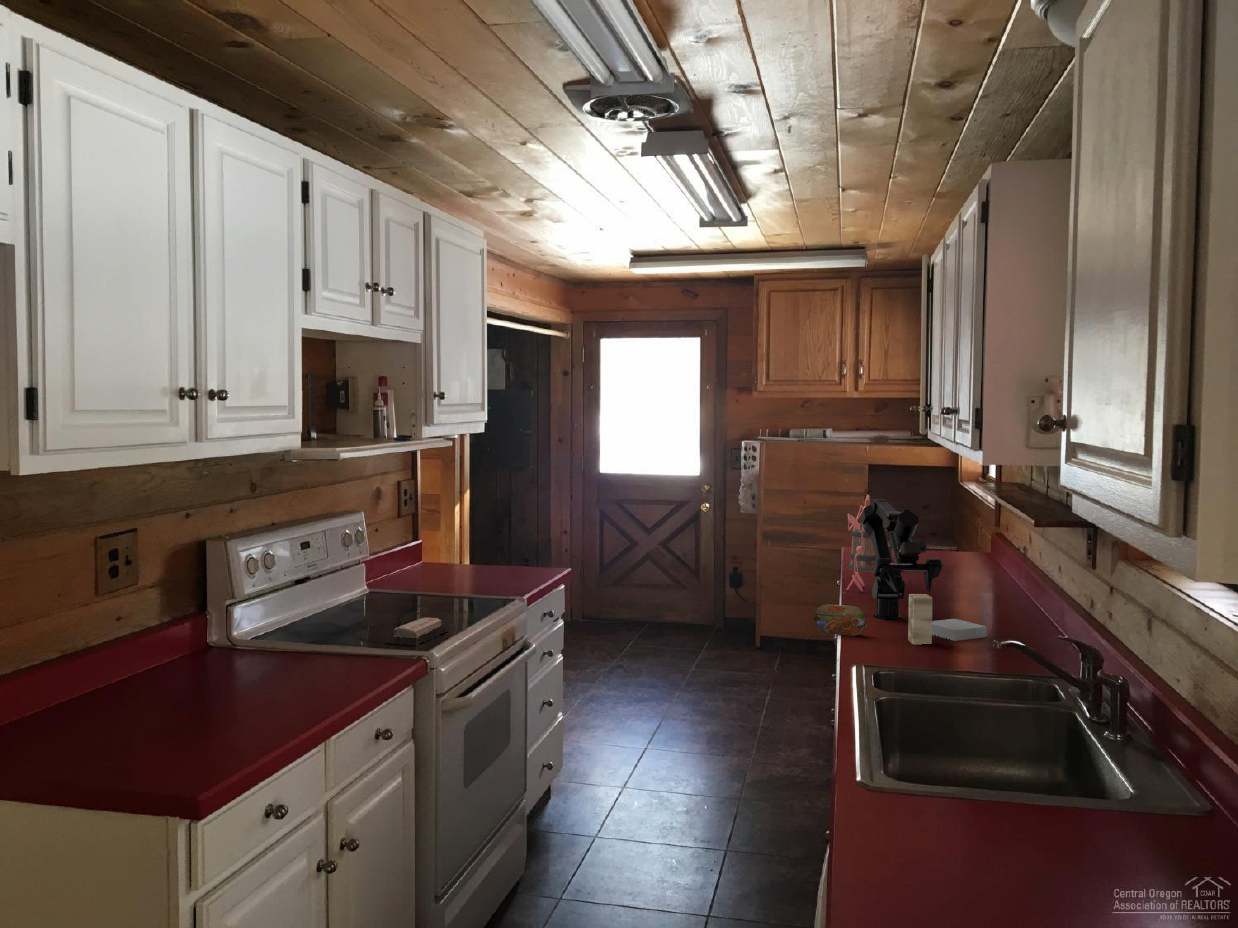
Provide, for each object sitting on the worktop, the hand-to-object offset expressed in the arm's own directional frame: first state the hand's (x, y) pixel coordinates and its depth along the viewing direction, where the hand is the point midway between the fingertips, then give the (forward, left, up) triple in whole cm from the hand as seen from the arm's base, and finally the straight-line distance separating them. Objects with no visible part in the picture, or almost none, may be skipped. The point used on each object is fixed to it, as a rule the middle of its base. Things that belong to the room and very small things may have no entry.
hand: (913, 591), depth 269 cm
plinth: (+3, +13, -13) cm, 18 cm away
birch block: (+6, -3, -13) cm, 15 cm away
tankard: (-101, +73, -13) cm, 126 cm away
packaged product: (-57, -128, -14) cm, 141 cm away
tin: (-12, -16, -13) cm, 24 cm away
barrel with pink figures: (-65, +39, -13) cm, 76 cm away
